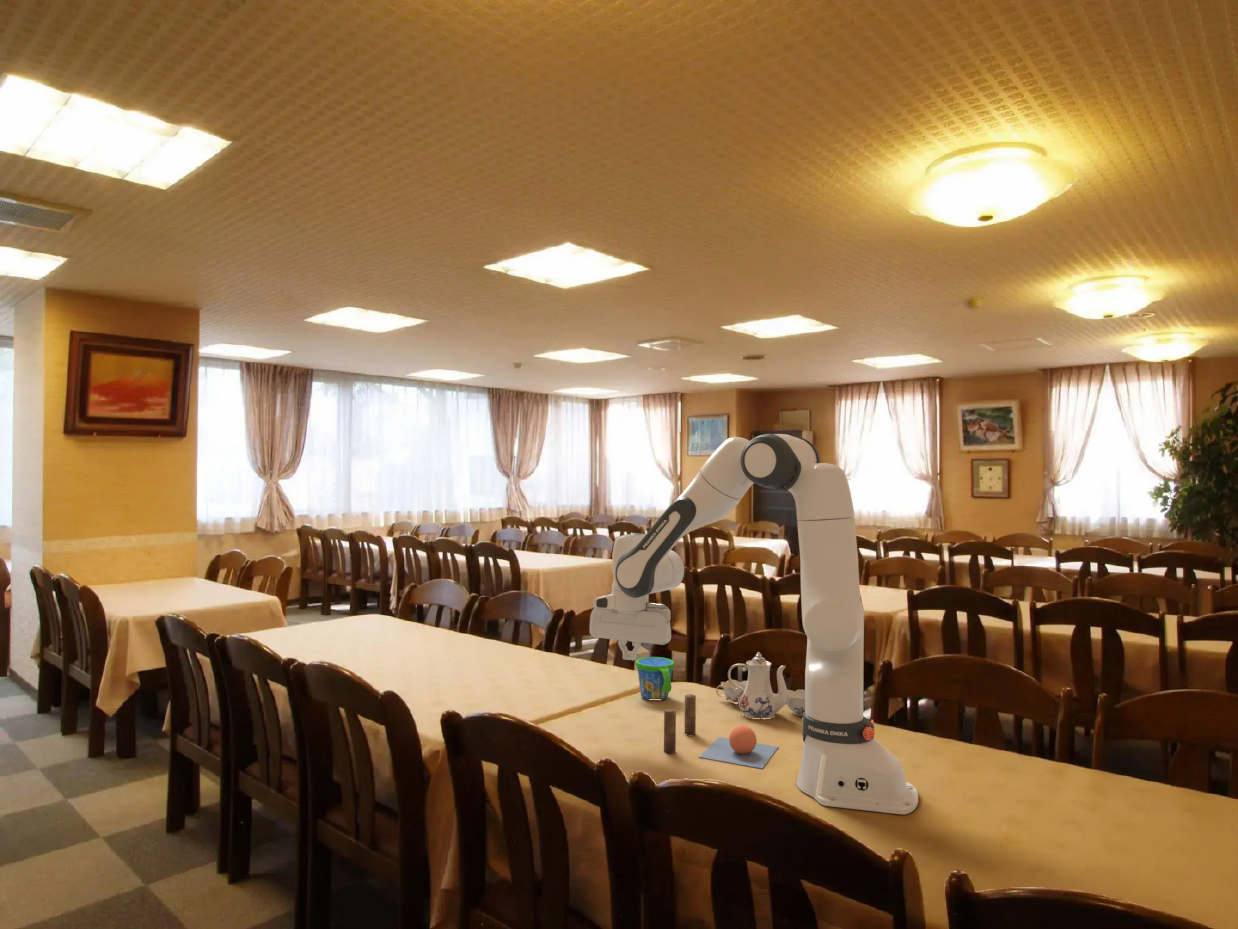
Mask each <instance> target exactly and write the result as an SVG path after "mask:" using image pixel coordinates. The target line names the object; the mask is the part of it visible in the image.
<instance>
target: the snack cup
mask: <svg viewBox="0 0 1238 929" xmlns="http://www.w3.org/2000/svg"><path fill="white" fill-rule="evenodd" d="M635 666H636V669H637V674H638V682H639V689H640V690H639V692H640V696H641V698H643V699H645V700H647V699H664V700H666V699H667V697H668V698H669V693H670V692H671V691H672V687H673V686H672V682H671V680H672V674H673V673H672V672H673V669H674V668H675V662H674V660H672V659H671V658H666V657H662V656H661V657H660V656H646V657H645V656H644V657H641V658H638V659H636V660H635ZM665 698H666V699H665Z"/></svg>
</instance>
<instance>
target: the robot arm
mask: <svg viewBox="0 0 1238 929" xmlns="http://www.w3.org/2000/svg"><path fill="white" fill-rule="evenodd" d="M753 484H756V485H758V486H760V487H763V488H767V489H773V490H776V491H780V492H787V491H788V492H789V493H790V494H791V495H792V496H793V499H794V501H795V502H794V503H795V508H796V520H797V522H796V523H797V534H798V546H799V557H800V598H801V599H800V600H801V601H800V602H801V619H802V627H803V632H805V635H806V637H807V639H806V640H807V642H806V643H807V644H806V656H805V671H804V690H805V712H804V713H803V716H801V717H802V718H801V734H802V741H803V749H802V756H801V762H800V767H799V771H798V776H797V779H796V782H795V784H796V785H797V787H798V789H799V790H800V791H802V792H803V793H805V794H806V795H808V796H810V797H812V798H813V799H815V801H817V802H818V803H819V804H820V805H821V806H822V805H823V806H826V807H833V808H834V807H835V808H842V809H851V810H859V811H860V810H861V811H869V812H877V813H883V814H894V815H895V814H896V815H908V814H910V813H912V812H913V811H915V810H916V808H917V807H918V804H919V793H918V792H919V791H918V790H917V788H916V787H915V786H914V785H913V784H912V783H911V782H907V780H906V775H905V770H904V768H903V765H902V763H901V760H900V759H899V758H898V756H896V755H895V754H893V753H892V752H891V751H890V750H889V749H888V748H886V747H885V746H884V745H882V743H880V742H879V741H878V740H877V739H876V738H875V724H874V723H875V722H874V720H873V719H871V721H870V720H869V719H868V718H867V717H866V716H864V657H865V656H864V653H865V652H864V650H865V649H864V648H865V647H864V646H865V643H864V642H865V640H864V639H865V638H864V637H865V609H864V605H863V603H862V600H861V598H862V597H861V586H860V573H859V572H860V571H859V569H860V568H859V556H858V555H859V554H858V545H857V532H856V522H855V521H856V520H855V512H854V505H853V497H852V494H851V489H850V486H849V482H848V478H847V475H846V473H845V470H843V469H842V468H841V467H840V466H838V465H836V464H832V463H827V462H826V463H825V462H821V456H820V452H819V450H818V448H817V447H816V446H815V445H814V444H813V443H812V442H811V441H810V440H807V439H806V438H803V437H799V436H794V435H793V436H792V435H790V434H788V433H787V434H785V433H766V434H760V435H758V436H755V437H754V438H752V439H750V440H748V438H747V439H746V438H744V437H739V436H732V437H729V438H727V439H725V440H724V441H723V442H722V443H721V444H720V445H719V446H717V448H716V449H715V450H714V451H713V453H712V454H711V455H710V456H709V457H708V459H706V461H705V462H704V463H703V465H702V467H701V468H700V469H699V471H698V472H697V474H696V475H695V476H694V478H693V479H692V480H691V482H690V483H689V484H688V485H687V487H685V489H684V490H683V491H682V493H681V494H679V496H678V497H677V498H676V499H675V500H674V501H673V502H672V503H671V505H669V506H668V508H666V509H665V511H664V512H663V513H662V514H661V516H659V518H658V519H657V521H655V523H654V524H653V525H652V526H651V527H650V529H649V530H648V531H647V532H646V534H645V533H642V532H640V533H636V532H635V533H628V534H623V535H620V536H618V537H617V538H616V539H615V541H614V542H613V547H612V548H613V549H612V556H611V557H612V559H611V572H612V577H613V581H612V584H611V592H610V593H606V594H605V595H602V596H598V597H596V598H594V599H593V600H592V606H593V609H592V610H591V613H590V616H589V634H590V635H591V637H592V638H597V639H599V638H601V639H608V640H615V641H618V644H617V645H618V647H619V649H620V650H621V652H622V659H623V660H626V661H627V660H628V661H637V658H638V656H637V653H638V652H639V649H640V647H641V646H642V643H644V644H652V645H661V646H663V645H664V646H665V645H666V644H669V643H670V641H671V639H672V628H671V622H670V621H671V618H672V617H671V616H672V615H671V614H672V613H671V610H670V608H669V607H668V606H666V604H664V603H654V602H649V599H650V598H649V595H651V594H655V593H661V592H665V591H669V590H672V589H674V588H677V587H679V586H680V585H681V583H682V582H683V580H684V577H685V573H686V572H685V563H684V560H683V559H682V557H681V555H680V554H679V553H677V552H676V551H675V550H672V549H673V548H674V547H675V546H676V544H678V542H679V541H680V539H682V538H683V537H684V536H685V535H687V534H689V533H690V532H692V531H695V530H697V529H699V528H702V527H704V526H707V525H711V524H714V523H717V522H719V521H722V520H723V519H725V518H726V517H727V516H728V515H729V514H730V513H732V511H734V509H736V507H737V506H738V504H739V503H740V502H741V500H742V499H743V497H744V496H745V494H746V493H747V492H748V490H749V489H750V488H751V487H752V485H753ZM628 642H631V643H632V644H631V645H632V647H633V649H632V650H629V649H628V646H627V645H626V644H627V643H628Z"/></svg>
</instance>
